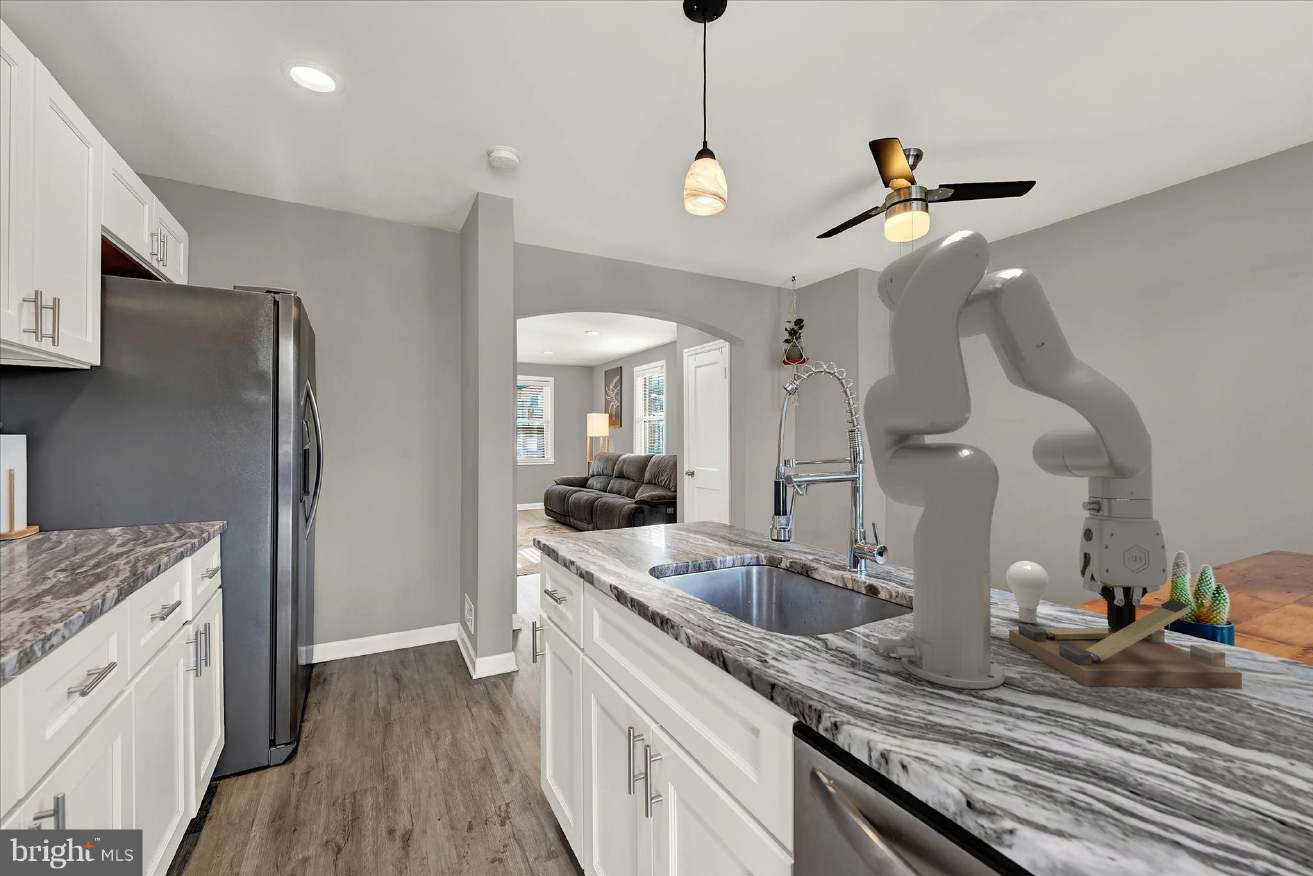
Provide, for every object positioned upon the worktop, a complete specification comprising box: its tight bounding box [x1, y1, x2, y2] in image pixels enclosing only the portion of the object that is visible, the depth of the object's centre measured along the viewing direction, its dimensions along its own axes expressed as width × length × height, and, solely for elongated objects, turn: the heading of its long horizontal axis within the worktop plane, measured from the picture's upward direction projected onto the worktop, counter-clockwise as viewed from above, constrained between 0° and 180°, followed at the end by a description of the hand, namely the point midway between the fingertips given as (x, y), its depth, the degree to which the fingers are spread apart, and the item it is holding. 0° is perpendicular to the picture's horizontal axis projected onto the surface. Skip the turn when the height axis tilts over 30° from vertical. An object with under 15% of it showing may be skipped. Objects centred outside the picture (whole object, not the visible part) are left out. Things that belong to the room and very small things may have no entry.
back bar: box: [1038, 626, 1148, 640], centre depth 84 cm, size 15×2×1 cm, turn 89°
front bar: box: [1083, 598, 1192, 664], centre depth 75 cm, size 15×2×1 cm, turn 89°
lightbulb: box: [1005, 560, 1051, 625], centre depth 97 cm, size 6×6×11 cm
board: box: [1008, 623, 1243, 689], centre depth 80 cm, size 20×16×4 cm
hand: (1121, 629), depth 84 cm, fingers closed
